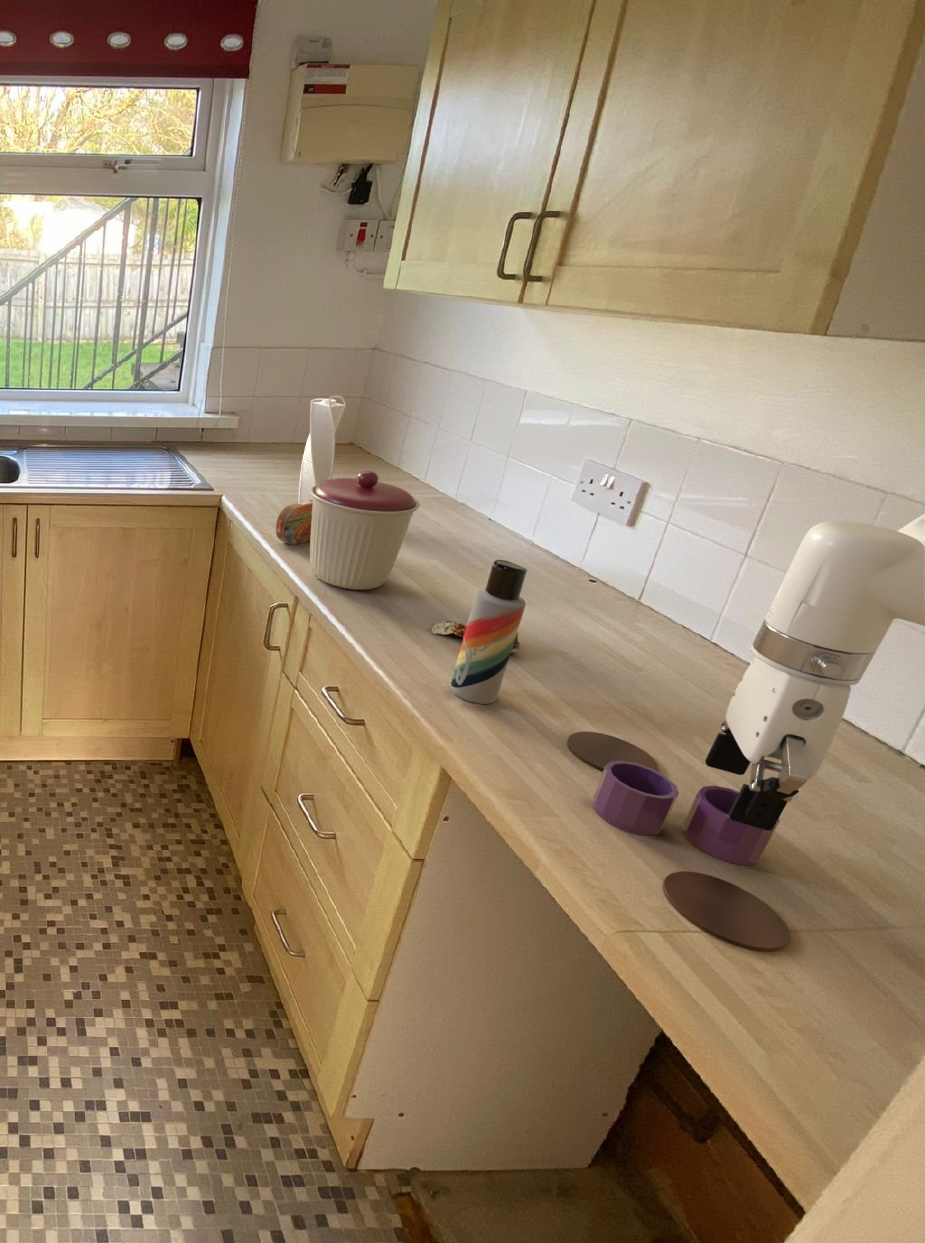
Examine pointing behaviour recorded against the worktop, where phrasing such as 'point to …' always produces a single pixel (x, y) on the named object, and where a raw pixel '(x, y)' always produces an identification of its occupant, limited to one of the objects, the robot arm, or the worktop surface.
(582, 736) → the coaster back
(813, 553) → the robot arm
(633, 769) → the ramekin
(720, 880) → the coaster front
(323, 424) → the skyscraper
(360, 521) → the canister
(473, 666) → the lotion bottle
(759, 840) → the ramekin
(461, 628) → the pastry
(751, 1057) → the worktop surface
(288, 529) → the tin
